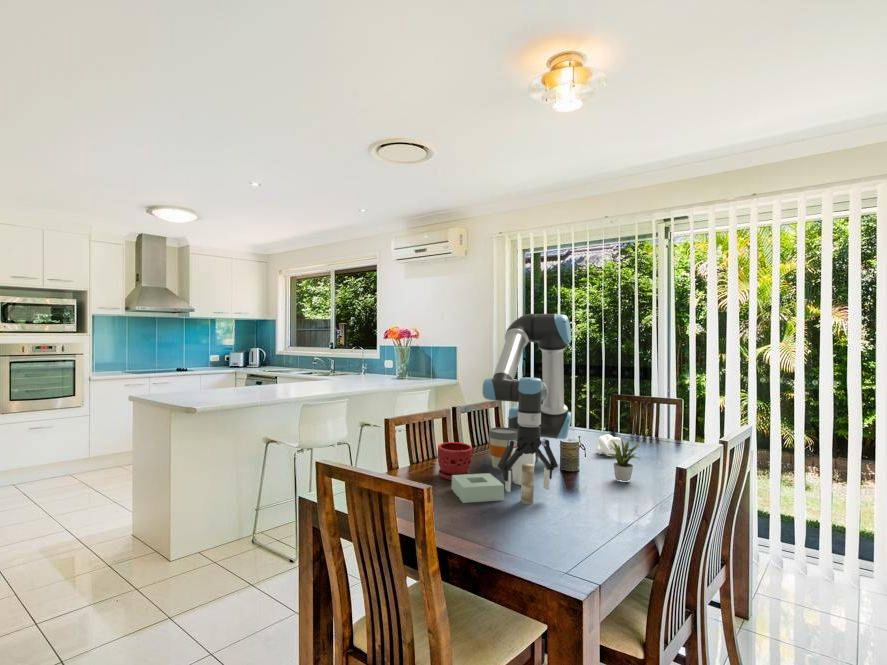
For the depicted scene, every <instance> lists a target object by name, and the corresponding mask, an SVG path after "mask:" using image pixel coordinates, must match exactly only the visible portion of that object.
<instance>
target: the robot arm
mask: <svg viewBox="0 0 887 665" xmlns="http://www.w3.org/2000/svg"><path fill="white" fill-rule="evenodd" d="M504 341H505V342H504V345H503V347H502V350H501V353H500V356H499V359H498V361H497V364H496V368H495V371H494V372H493V376H492V377H490V378H486V379H484V380H483V382H482V396H483V398H484V399H485V400H490V401H498V402H499V401H500V402H512V403H513V402H515V403H518V405H516V406H512V407H511V408H509V410H508V417H507V419H508V420H507V423H508V424H507V428H513V429H517V440H516V441H512V440H510V439H509V440H508V444H507V448H506V450H505V452H504V454H503V456H502V458H501V460H500V462H499V464H498V468H499V469H498V470H501V471H502V479H503V481H504V482H505V484H504V491H506V492H507V493H511V491H512V490H511V486H512V470H511V469H510V468H511V467H512V466H513V465H514V463H515V462H516V461H517V460H518V458H519V457H520V456H522V454H523V453H524V454H529V453H530V454H534V453H535V463H537V462H539V459H540V461H541V463H543V465H544V466H545V467H544V468H543V487H542V488H543V489H545V490H547V491H549V490H550V480H552V479H553V471H554V470H555V468H558V463H557V460H556V457H555V456H554V453H553V451H552V448H551V447H550V439H554V440H555V439H556V440H565V439H567V438H568V436H569V434H570V426H571V423H572V422H571V421H572V412H571V411H568V410H569V408H568V406H567V405H566V404H565V395H564V394H565V388H564V386H565V384H564V379H565V378H564V377H565V376H564V370H565V368H564V351H565V350H566V349H567V348H568V344H571V341H572V331H571V323H570V319H569V317H568V316H567V315H566V314H560V313H559V314H558V313H527V314H523V315H522V316H520V317H518V318H517V319H515V320H514V321H513V322H512V323H511V324H510V325H509V326H508V327H507V329H506V331H505V333H504ZM529 343H537V347H538V349H539V350H541V355H542V356H541V357H542V358H541V364H542V365H541V367H542V368H541V369H542V372H541V373H542V379H541V378H540V377H539V378H538V377H527V376H525V377H520V378H519V380H518V379H517V380H516V379H515V377H516V374H517V371H518V367H519V363H520V361H521V357H522V355H523V351H524V348H525V347H526V346H527V345H528V344H529ZM541 438H543V439H541ZM515 445H517V446H518V448H517V449H516V450H515V452H514V454H513V455H512V456H511V458H510V459H509V457H510V455H511V453H512V450H513V447H515ZM541 445H542V447H543V449H544V451H545V454H546V456H547V458H548V459H547V458H546V457H545V455H544V454H543V452H542V451H541V450H540V447H541ZM508 459H509V460H508ZM548 460H549V461H548Z"/></svg>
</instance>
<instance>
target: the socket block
mask: <svg viewBox="0 0 887 665" xmlns="http://www.w3.org/2000/svg"><path fill="white" fill-rule="evenodd" d="M452 490H453V491H452ZM451 491H452V492H453V493H454V494H455V495H456V496H457V498H458V497H459V498H458V499H459V500H460V501H461V502H462V504H465V503H466V504H467V503H483V502H496V501H497V502H499V501H504V500H505V484H503V483H502V482H501V481H500V480H499V479H497V477H495V476H494V475H493V474H492V473H491V472H489V473H471V474H470V473H469V474H464V475H452V480H451Z"/></svg>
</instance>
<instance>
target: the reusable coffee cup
mask: <svg viewBox="0 0 887 665" xmlns="http://www.w3.org/2000/svg"><path fill="white" fill-rule="evenodd" d="M488 438H489V444H488V447H489V454H490V455H491V466H492V467H493V468H494V469H496V468H498V464H499V462H500V460H501V458H502V456H503V454H504V452H505V450H506V448H507V444H508V440H509V439H510V440H512V441H516V440H517V429H513V428H508V427H502V426H501V427H491V428H489V431H488ZM513 448H518V446H517V445H515V447H513ZM510 458H511V455H510V457H509V459H510ZM509 459H508V460H509ZM497 470H500V469H499V468H498V469H497ZM510 470H512V467H511V468H510Z"/></svg>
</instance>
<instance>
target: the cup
mask: <svg viewBox="0 0 887 665" xmlns="http://www.w3.org/2000/svg"><path fill="white" fill-rule="evenodd" d="M516 449H517V448H513V450H512V453H511V456H512V455H513V454H514V452H515V450H516ZM522 464H532V465H534V466H535V465H536V462H535V453H534V454H530V453H529V454H524V453H523V454H522V456H520V457H519V458H518V460H517V461H516V462H515V463H514V465H513V466H512V469H511V475H512V482H513V483H514V484H515V485H518V486H521V478H522Z"/></svg>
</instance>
